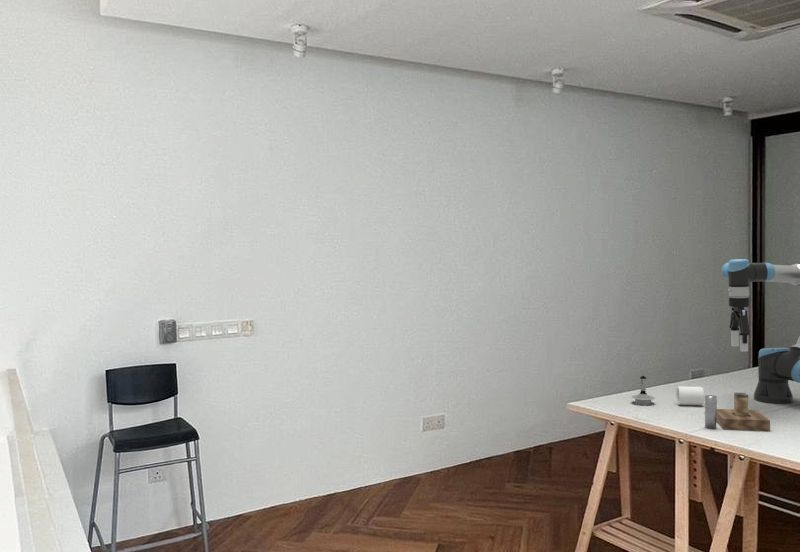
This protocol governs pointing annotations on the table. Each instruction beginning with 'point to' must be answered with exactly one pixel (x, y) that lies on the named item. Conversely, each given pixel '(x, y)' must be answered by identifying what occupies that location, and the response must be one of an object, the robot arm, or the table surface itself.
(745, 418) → the bore block
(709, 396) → the round bit
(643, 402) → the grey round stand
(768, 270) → the robot arm
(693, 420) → the table surface
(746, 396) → the square bit
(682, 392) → the mug
